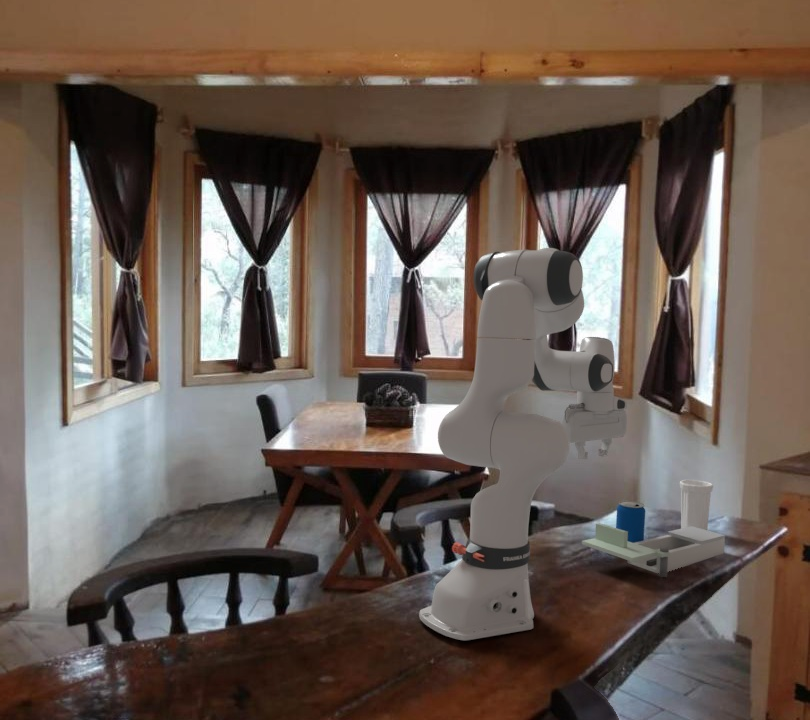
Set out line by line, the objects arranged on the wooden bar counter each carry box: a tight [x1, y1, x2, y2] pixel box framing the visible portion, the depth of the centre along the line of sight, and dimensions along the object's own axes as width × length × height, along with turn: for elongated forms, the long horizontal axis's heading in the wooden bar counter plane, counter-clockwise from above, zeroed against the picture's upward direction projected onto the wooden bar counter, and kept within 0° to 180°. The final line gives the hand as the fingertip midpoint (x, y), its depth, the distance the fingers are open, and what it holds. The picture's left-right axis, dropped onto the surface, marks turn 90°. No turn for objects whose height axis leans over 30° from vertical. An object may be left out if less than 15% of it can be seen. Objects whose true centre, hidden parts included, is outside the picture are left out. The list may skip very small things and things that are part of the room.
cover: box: [581, 522, 670, 562], centre depth 164 cm, size 16×11×4 cm
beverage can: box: [615, 500, 646, 543], centre depth 177 cm, size 6×6×12 cm
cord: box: [646, 558, 657, 566], centre depth 173 cm, size 23×1×1 cm, turn 125°
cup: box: [679, 479, 714, 530], centre depth 192 cm, size 8×8×14 cm
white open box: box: [627, 526, 726, 578], centre depth 172 cm, size 25×11×5 cm, turn 125°
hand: (593, 457), depth 185 cm, fingers open, 6 cm apart
